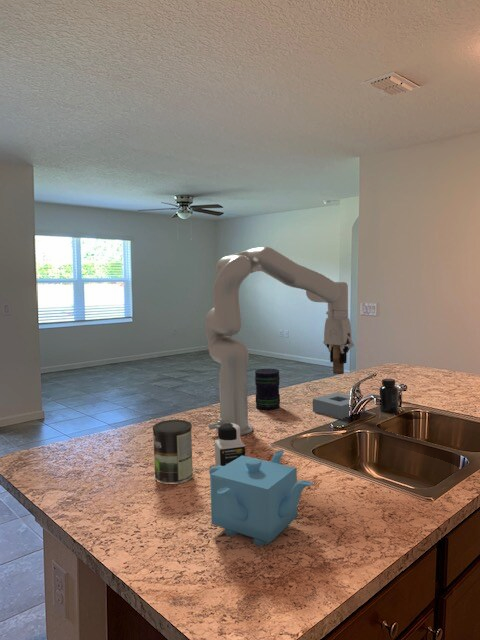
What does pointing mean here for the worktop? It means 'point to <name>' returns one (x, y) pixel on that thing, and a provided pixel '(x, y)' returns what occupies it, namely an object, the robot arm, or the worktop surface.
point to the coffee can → (173, 451)
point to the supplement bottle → (389, 396)
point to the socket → (333, 405)
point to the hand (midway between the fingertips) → (338, 362)
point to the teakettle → (255, 497)
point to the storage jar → (267, 389)
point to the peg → (337, 360)
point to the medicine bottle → (228, 444)
